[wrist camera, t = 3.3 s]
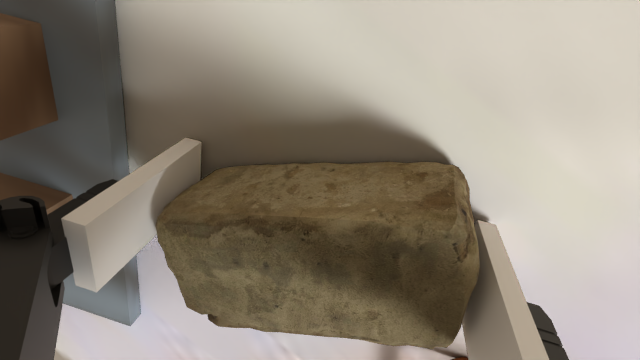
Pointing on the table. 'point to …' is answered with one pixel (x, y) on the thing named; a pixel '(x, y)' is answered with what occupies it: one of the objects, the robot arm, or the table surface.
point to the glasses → (461, 358)
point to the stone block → (327, 249)
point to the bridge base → (65, 120)
